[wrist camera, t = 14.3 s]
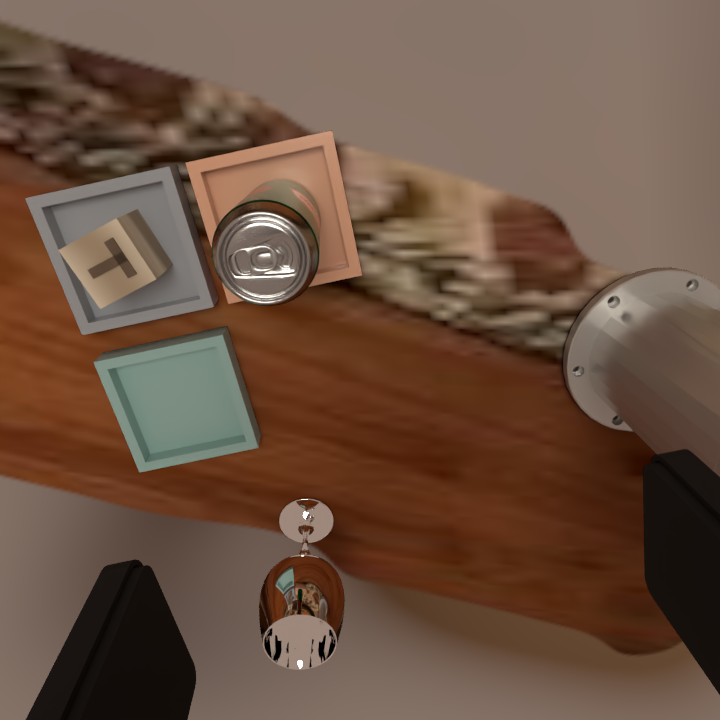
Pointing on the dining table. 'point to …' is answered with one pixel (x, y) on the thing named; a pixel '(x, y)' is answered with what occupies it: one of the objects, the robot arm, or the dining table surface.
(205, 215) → the tray terracotta
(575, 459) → the dining table surface
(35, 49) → the dining table surface
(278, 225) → the soda can
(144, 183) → the tray slate
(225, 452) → the tray teal
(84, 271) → the letter cube
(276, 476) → the dining table surface
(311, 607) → the wineglass
